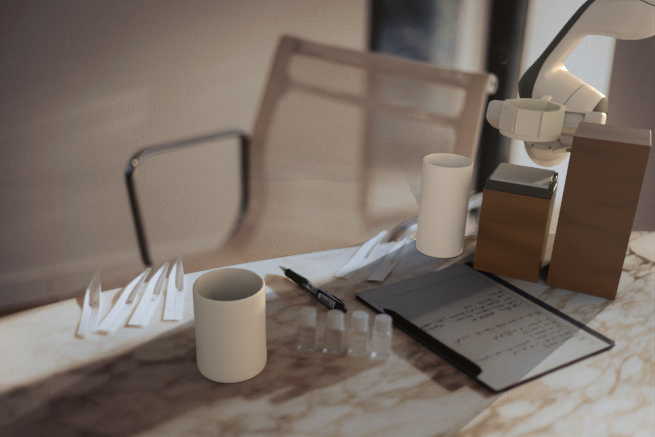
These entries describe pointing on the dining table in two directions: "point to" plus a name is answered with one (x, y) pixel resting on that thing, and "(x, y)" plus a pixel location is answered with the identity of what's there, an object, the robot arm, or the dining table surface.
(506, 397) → the dining table surface
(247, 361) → the mug
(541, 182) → the scale
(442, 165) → the cup
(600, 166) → the stand
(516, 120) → the cream rounded piece
